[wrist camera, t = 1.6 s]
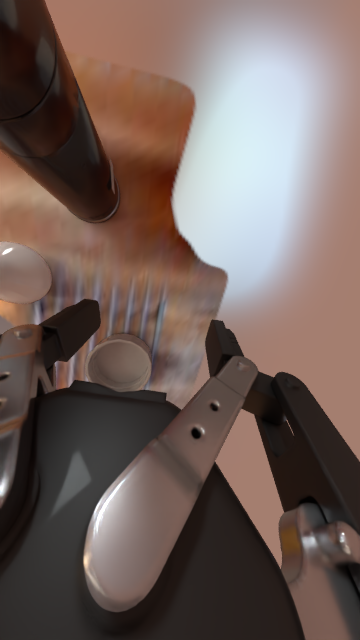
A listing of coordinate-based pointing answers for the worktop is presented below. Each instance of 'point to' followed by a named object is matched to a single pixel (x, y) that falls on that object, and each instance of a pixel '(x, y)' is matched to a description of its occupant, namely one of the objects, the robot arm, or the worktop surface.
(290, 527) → the robot arm
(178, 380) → the worktop surface
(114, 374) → the bowl
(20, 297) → the flower vase
